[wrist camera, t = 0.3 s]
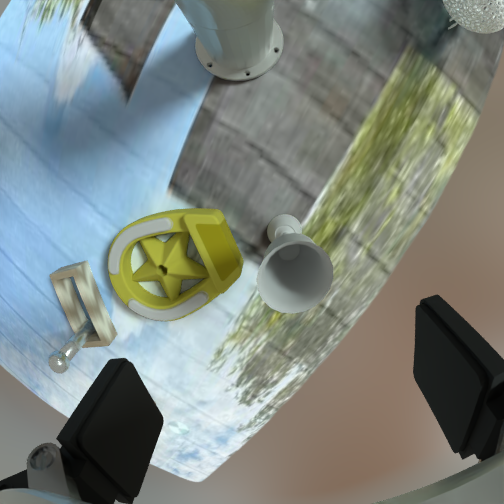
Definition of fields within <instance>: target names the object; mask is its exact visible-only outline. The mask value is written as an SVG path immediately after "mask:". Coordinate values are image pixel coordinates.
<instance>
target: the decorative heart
mask: <svg viewBox="0 0 504 504" xmlns="http://www.w3.org/2000/svg"><path fill="white" fill-rule="evenodd" d="M442 1H443V4H444V6H445V8H446V10H447V12H448V13H449V15H450V16H451V17H452V18H451V19H450V20H449V21H452V20H453V19H454V20H455V21H456V23H455V24H453V25H451V26H450V27H448V30H449V29H451V28H453V27H454V26H456V25H457V23H458V24H459V25H461V26H462V27H464V28H466V29H468V30H470V31H473V32H477V33H493V32H496V31H499V30H501V29H502V28H504V16H503V15H504V0H496V1H494V0H490V1H488V0H442ZM463 1H464V2H463ZM491 2H492V4H491V5H489V3H491ZM498 2H500V3H499V4H498ZM450 3H451V4H450ZM461 3H462V4H461ZM447 4H448V5H447ZM460 4H461V5H460ZM470 4H471V5H470ZM484 4H486V5H484ZM494 4H495V5H494ZM476 5H477V6H476ZM448 6H449V7H448ZM454 6H455V7H454ZM482 6H483V7H482ZM485 6H486V8H485V9H484V10H483V8H484V7H485ZM458 8H459V11H458V10H457V9H458ZM490 8H491V10H490ZM500 8H501V9H500ZM487 9H488V10H487ZM455 11H456V12H455ZM488 11H489V12H488ZM492 12H494V13H493V14H492ZM483 13H484V14H483ZM462 15H463V16H462ZM494 17H495V18H494ZM489 18H490V19H489ZM482 20H483V21H482ZM467 21H469V22H467ZM493 21H494V22H493ZM492 22H493V23H492ZM483 24H485V25H483Z"/></svg>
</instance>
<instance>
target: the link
mask: <svg viewBox="0 0 504 504" xmlns="http://www.w3.org/2000/svg"><path fill="white" fill-rule="evenodd" d="M72 276H73V277H74V280H75V282H76V285H77V287H78V290H79V292H80V295H81V297H82V300H83V302H84V304H85V307H86V309H87V311H88V314H89V316H90V318H91V320H92V323H93V325H94V327H95V329H96V331H95V332H94V333H93V335H92V336H91V337H90V338H89V339H88V340H87V341H86V343H85V344H84V345H83V346H82V348H88V347H102V346H109V345H110V344H111V342H112V341H113V340H114V338H115V337H116V336H117V335H118V334H117V332H116V330H115V328H114V326H113V323H112V321H111V319H110V317H109V314H108V312H107V309H106V307H105V305H104V302H103V300H102V297H101V295H100V292H99V290H98V287H97V285H96V282H95V279H94V277H93V274H92V271H91V269H90V266H89V263H88V260H87V261H83V262H79V263H76V264H72V265H68V266H64V267H61V268H60V269H58V270H57V271H55V272H53V273H52V274H50V278H51V280H52V283H53V285H54V288H55V290H56V293H57V295H58V298H59V300H60V302H61V305H62V307H63V309H64V312H65V314H66V316H67V318H68V320H69V323H70V325H71V327H72V329H73V331H74V333H76V332H77V331H78V330H79V329H80V328H81V327H82V326H83V325H84V324H85V323H86V322H87V321H88V320H87V317H86V315H85V313H84V311H83V308H82V306H81V304H80V301H79V299H78V296H77V294H76V291H75V289H74V286H73V284H72V281H71V279H70V277H72Z"/></svg>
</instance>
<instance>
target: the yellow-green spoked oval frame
mask: <svg viewBox="0 0 504 504" xmlns="http://www.w3.org/2000/svg"><path fill="white" fill-rule="evenodd" d="M173 232H177V233H176V234H174V235H173V236H172V237H171V238H170V239H169V240H168V241H167V242H162V241H161V240H159V239H157V238H156V237H154V236H155V235H159V234H165V233H173ZM190 235H191V237H192V239H193V242H194V244H195V246H196V248H197V250H198V252H199V254H200V256H201V258H202V260H203V262H204V265H205V267H204V266H202V265H201V264H199V263H197V262H196V261H194V260H192V259H191V258H189V257H188V256H187V248H188V242H189V236H190ZM138 241H139V242H140V244H141V246H142V248H143V250H144V252H145V254H146V256H147V258H148V260H147V261H146V262H145V263H144V264H143V265H142V266H141V267H140V268H139V269H138V270H137V271H136V272H135V273H134V274H133V271H132V268H131V254H132V251H133V248H134V246H135V245H136V243H137V242H138ZM242 267H243V258H242V256H241V253H240V251H239V249H238V247H237V245H236V242H235V240H234V238H233V236H232V233H231V231H230V229H229V227H228V224H227V222H226V220H225V218H224V215H223V213H222V212H221V211H220V210H218V209H198V208H192V209H177V210H170V211H165V212H160V213H156V214H153V215H149V216H146V217H143V218H141V219H139V220H137V221H135V222H133V223H131V224H129V225H128V226H126V227H125V228H123V229H122V230H121V231H120V232H119V233H118V234H117V236H116V237H115V239H114V240H113V242H112V244H111V247H110V250H109V254H108V272H109V277H110V280H111V283H112V285H113V288H114V290H115V291H116V293H117V295H118V296H119V297H120V299H121V300H122V301H123V302H124V303H125V304H126V305H127V306H128V307H129V308H130V309H131V310H132V311H134V312H135V313H137V314H139V315H141V316H143V317H146V318H148V319H152V320H157V321H173V320H178V319H181V318H183V317H185V316H187V315H189V314H191V313H193V312H195V311H197V310H198V309H200V308H202V307H203V306H205V305H206V304H208V303H209V302H211V301H212V300H213V299H214V298H216V297H217V296H218V295H219V294H220V293H224V292H225V291H226V290H227V289H228V288H229V287H230V286H231V285H232V284H233V283H234V282H235V281H236V280H237V279H238V278H239V277H240V275H241V271H242ZM203 278H204V279H203ZM183 279H203V280H202V281H200V282H199V283H198V284H196V285H195V286H193V287H192V288H190V289H188V290H187V291H185V292H183V293H181V294H180V291H181V285H182V280H183ZM138 281H159V282H160V283H161V285H162V287H163V289H164V291H165V293H166V294H167V296H168V297H160V296H156V295H154V294H151V293H150V292H148V291H147V290H145V289H144V288H143V287H142V286H141V285H140V284H139V283H138Z"/></svg>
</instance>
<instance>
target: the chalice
mask: <svg viewBox="0 0 504 504" xmlns="http://www.w3.org/2000/svg"><path fill="white" fill-rule="evenodd" d="M301 233H302V230H301V225H300V223H299V221H298V220H297V219H296V218H295V217H293V216H291V215H286V214H283V215H279V216H276V217H274V218H273V219H272V220H271V221H270V223H269V225H268V229H267V234H268V238H269V240H270V242H271V244H270V245H269V246H268V248H267V250H266V252H265V254H264V259H263V262H262V264H261V266H260V267H259V271H258V275H257V287H258V292H259V294H260V296H261V298H262V300H263V301H264V302H265V303H266V304H267V305H268V306H270V307H271V308H272V309H275V310H277V311H279V312H283V313H292V314H293V313H298V312H304V311H306V310H308V309H310V308H312V307H314V306H316V305H317V304H318V303H319V302H320V301H321V300H322V299H324V297H325V296H326V294H327V293H328V291H329V290H330V287H331V284H332V280H333V265H332V263H331V260H330V258H329V256H328V255H327V253H326V252H325V251H324V250H323V249H322V248H321V247H319V246H317V245H316V244H315V243H314V242H313V241H312V240H311V239H310V238H309V237H307V236H305V235H303V234H301Z"/></svg>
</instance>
